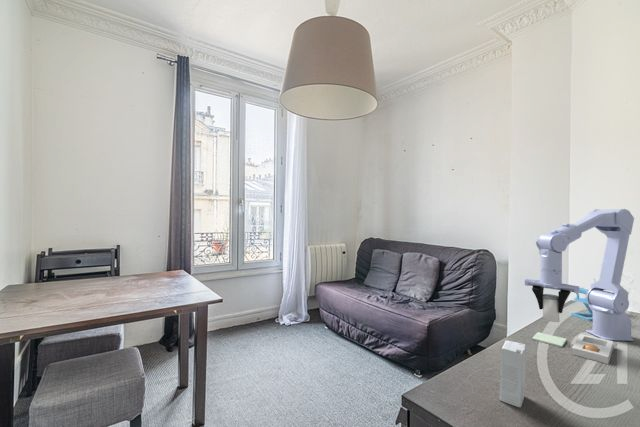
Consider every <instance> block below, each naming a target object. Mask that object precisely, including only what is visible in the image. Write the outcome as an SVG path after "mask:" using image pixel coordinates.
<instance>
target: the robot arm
mask: <svg viewBox="0 0 640 427" xmlns="http://www.w3.org/2000/svg"><path fill="white" fill-rule="evenodd" d="M634 221H635V217H634V215H632V213H631V212H630V210H629V209H626V208H620V209H596V208H595V209H593V210H592V211H589V212H588V214H587V215H586V216H584V217H583V218H582V219H580V220H578V221H576V222H575V223H562V225H561V227H559V228H557V229H553V230H551V232H549V233H542V234H541V235H540V236H538V237H537V241H535V245H536V247H537V248H538V254H539V255H540V278H539V279H540V280H538V279H528V278H527V279H524V286H525V287H526V286H531V287H532V288H531V291H532V292H533V294H534V296H535V298H536V300H537V304H538V308H539V310H543V298H542V294H544V290H545V289H551V290H557V291H558V293H557V294H558V296H559V309H558V311H559V314H562V313H563V310H564V306H565V304H566V302H567V299H568V298H569V296H570V294H571V293H574V294H576V293H578V294H580V293H579V292H580V288H581V287H580V286H578V285H572V284H567V283H563V282H562V281H563V280H562V279H563V252H565V251H566V249H567V247H568V246H569V245H570V244H571V243H573V242H575V241H577V240H579V239H581V237H582V234H583V233H584V232H587V231H589V230H591V229H593V228H595V229H597V231H599V232H601V234H603V235H605V236H606V244H605V250H604V253H603V254H604V255H603V258H602V259H603V260H602V264H601V268H600V274H599V279H598V280H597V281H595V283H594V282H592V283H591V284H590V286H589V287H590V289H589V291H588V292H587V294H586V300H587V302H588V303H589V304H590V307H591V308H593V311H592V312H593V316H592V317H593V321H592V329H586V330H585V331H586V333H589V334H591V335H592V336H594V337H595V336H596V338H601V339H605V340H610V341H624V342H625V341H627V342H628V341H630V342H632V341H633V342H634V338H632V320H631V317H630V315H629V314H628V313H626V311H627V310H628V309H629V306H630V301H629V292H628V291H627V290H626V289H625V288H624V287H623V286H622V285H621V281H622V276H623V269H624V265H625V260H626V257H627V256H626V255H627V251H628V246H629V240H630V235H632V232H633V226H634Z"/></svg>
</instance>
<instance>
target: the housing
mask: <svg viewBox="0 0 640 427" xmlns="http://www.w3.org/2000/svg"><path fill="white" fill-rule="evenodd" d="M585 344H591V345H594V346H597V352H594V351H591V350H587V349H585ZM613 350H614V340H605V339H601V338H599V337H597V336H596V337H595V336H593V335H587V334H583V333H580V334H579V335H578V337H577V338H576V340H575V342H574V344H573V345H572V347H571V355H573V356H577V357H581V358H583V359H584V358H585V359H588V360H592V361H596V362H599V363H603V364H605V365H606V364H607V365H610V364H609V363H610V360H611V357H612V354H613Z"/></svg>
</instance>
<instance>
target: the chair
mask: <svg viewBox="0 0 640 427" xmlns="http://www.w3.org/2000/svg"><path fill="white" fill-rule="evenodd" d="M588 291H589V290H586V289H584V287H580V292H579V293H575V294H576V297H574V298H573V300H574V301H575V302H579V303H583V305H584V306H585V308H586V310H587V309H588V310H587V311H588V313H585V312H570V315H571V316H573V317H576V318H579V319H581V318H582V320H584V319H585V320H584V321H587V320H588V321H587V322H593V311H592V310H591V309H590V307H589V305H590V304H589V303H588V302H587V300H586V298H585V297H580V294H583V295H585V294H587V292H588Z"/></svg>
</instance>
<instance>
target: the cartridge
mask: <svg viewBox="0 0 640 427" xmlns="http://www.w3.org/2000/svg"><path fill="white" fill-rule="evenodd" d="M542 298H543V309H542V319H543V320H544V321H547V322H552V323H560V313H559V311H558V309H559V295H557V294H549V293H543V294H542Z"/></svg>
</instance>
